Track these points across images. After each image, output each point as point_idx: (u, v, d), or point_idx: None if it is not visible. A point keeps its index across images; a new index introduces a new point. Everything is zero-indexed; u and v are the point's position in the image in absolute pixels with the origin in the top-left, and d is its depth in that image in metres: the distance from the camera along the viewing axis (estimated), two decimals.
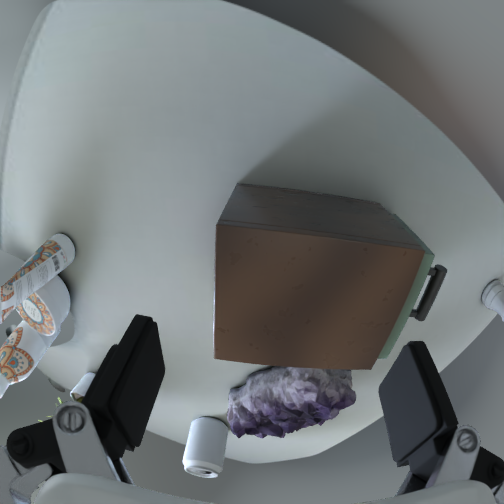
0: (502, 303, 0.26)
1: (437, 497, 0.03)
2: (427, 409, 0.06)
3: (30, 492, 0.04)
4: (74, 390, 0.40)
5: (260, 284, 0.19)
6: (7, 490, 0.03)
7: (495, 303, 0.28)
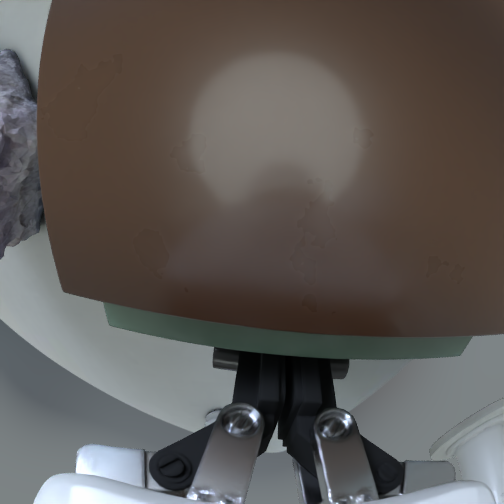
0: None
1: (437, 497, 0.03)
2: (293, 382, 0.08)
3: None
4: None
5: None
6: None
7: None
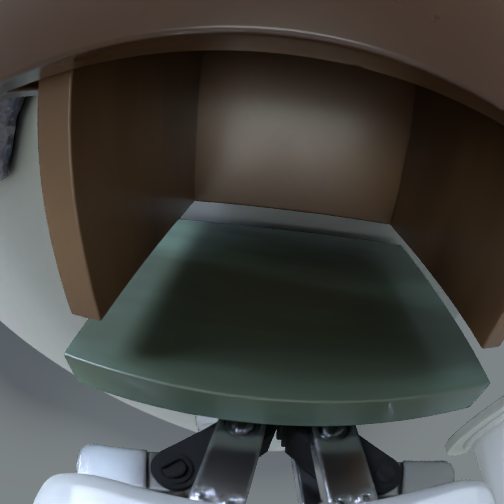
0: None
1: (437, 497, 0.03)
2: None
3: None
4: None
5: None
6: None
7: None
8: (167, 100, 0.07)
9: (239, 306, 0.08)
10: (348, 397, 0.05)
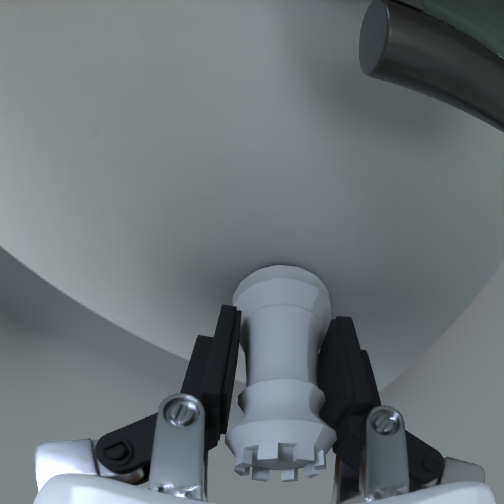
0: (306, 353, 0.09)
1: (437, 497, 0.03)
2: (342, 383, 0.08)
3: None
4: None
5: None
6: None
7: (286, 323, 0.10)
8: None
9: None
10: None
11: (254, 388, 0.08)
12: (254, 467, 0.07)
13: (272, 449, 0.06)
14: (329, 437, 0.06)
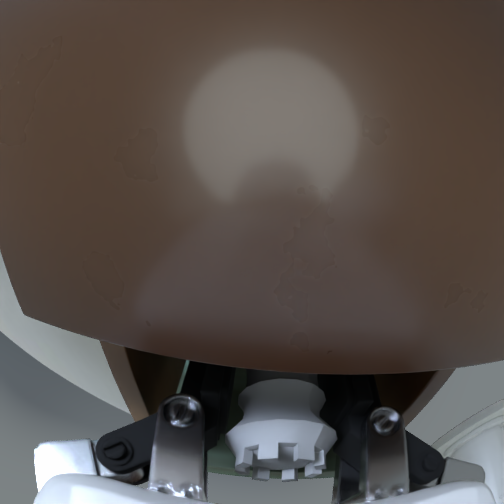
0: None
1: (437, 497, 0.03)
2: (342, 383, 0.08)
3: None
4: None
5: None
6: None
7: None
8: None
9: None
10: (281, 470, 0.10)
11: (254, 388, 0.08)
12: (255, 466, 0.07)
13: (273, 448, 0.06)
14: (329, 437, 0.06)
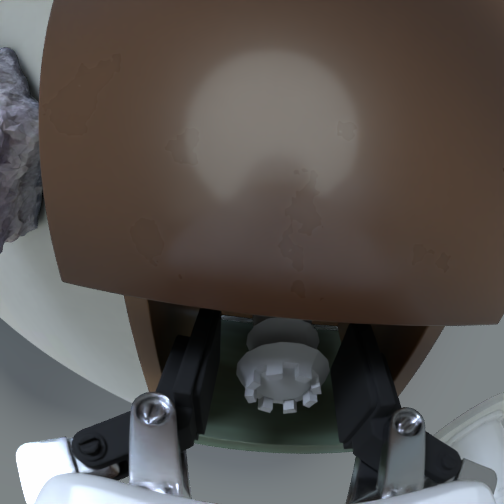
0: None
1: (437, 497, 0.03)
2: (364, 387, 0.07)
3: None
4: None
5: None
6: None
7: None
8: None
9: (234, 392, 0.14)
10: (283, 442, 0.11)
11: (261, 325, 0.10)
12: (260, 399, 0.09)
13: (278, 367, 0.08)
14: (323, 364, 0.09)
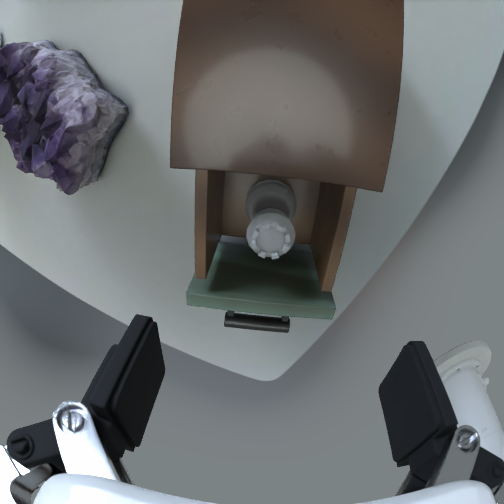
0: (281, 207, 0.21)
1: (437, 497, 0.03)
2: (427, 409, 0.06)
3: (30, 492, 0.04)
4: None
5: None
6: (7, 490, 0.03)
7: (272, 197, 0.22)
8: (217, 206, 0.22)
9: (242, 277, 0.23)
10: (275, 302, 0.21)
11: (259, 213, 0.20)
12: (259, 252, 0.19)
13: (267, 222, 0.18)
14: (290, 226, 0.18)
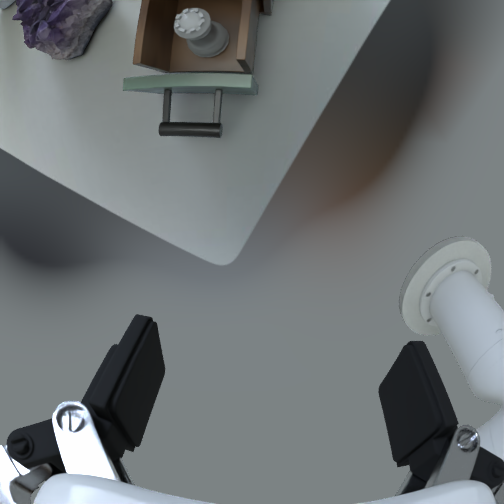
0: None
1: (437, 497, 0.03)
2: (427, 409, 0.06)
3: (30, 492, 0.04)
4: None
5: None
6: (7, 490, 0.03)
7: None
8: (162, 33, 0.21)
9: None
10: (194, 73, 0.19)
11: None
12: (181, 32, 0.18)
13: (187, 9, 0.16)
14: (206, 13, 0.17)
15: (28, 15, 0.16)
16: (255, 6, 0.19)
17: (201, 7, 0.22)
